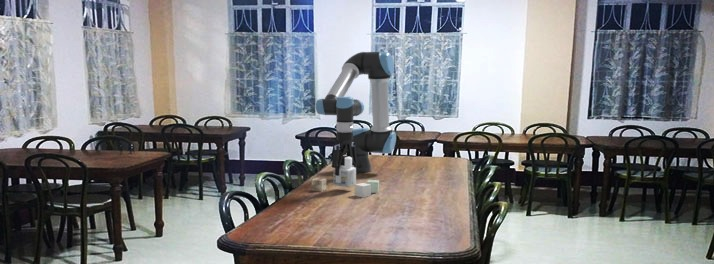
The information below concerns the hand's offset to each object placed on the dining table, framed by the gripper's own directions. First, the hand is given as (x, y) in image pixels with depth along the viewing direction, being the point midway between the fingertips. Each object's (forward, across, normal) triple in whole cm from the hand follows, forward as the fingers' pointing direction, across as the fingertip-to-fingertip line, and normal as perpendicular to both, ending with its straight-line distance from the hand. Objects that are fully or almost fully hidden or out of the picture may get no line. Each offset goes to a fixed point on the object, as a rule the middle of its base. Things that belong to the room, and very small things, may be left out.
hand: (344, 180), depth 238 cm
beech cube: (+5, -6, +10) cm, 13 cm away
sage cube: (+5, +6, -11) cm, 14 cm away
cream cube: (+5, -2, -12) cm, 13 cm away
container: (+2, 0, 0) cm, 2 cm away
